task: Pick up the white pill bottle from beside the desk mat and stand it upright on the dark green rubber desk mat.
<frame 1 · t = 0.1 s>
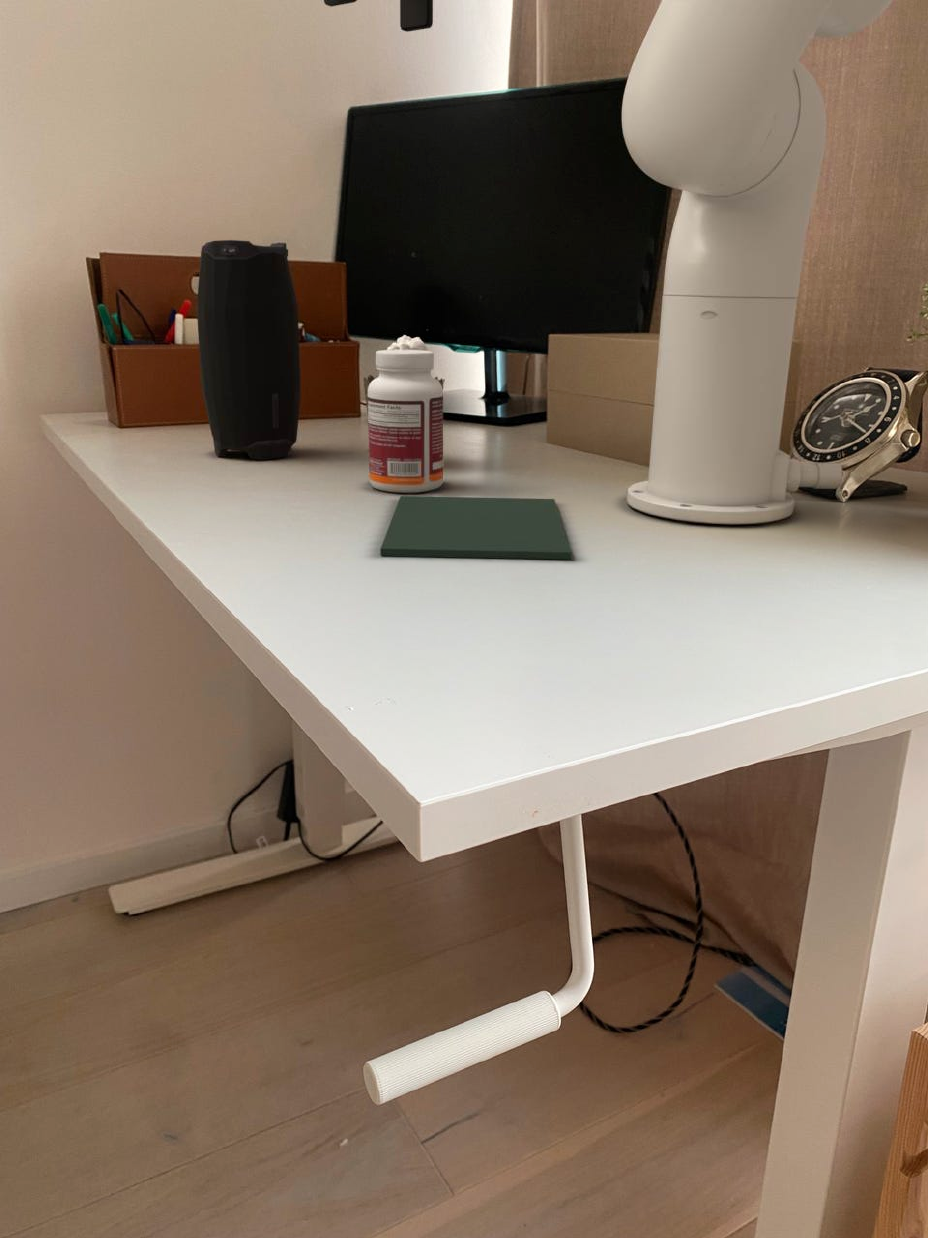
hand: (380, 16, 82), 37 cm above the table, tool pointing down, fingers open, 9 cm apart
desk mat: (476, 527, 69), on the table
portable speaker: (255, 455, 97), on the table
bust: (397, 423, 120), on the table
pill bottle: (406, 489, 83), on the table
cup: (404, 465, 93), on the table
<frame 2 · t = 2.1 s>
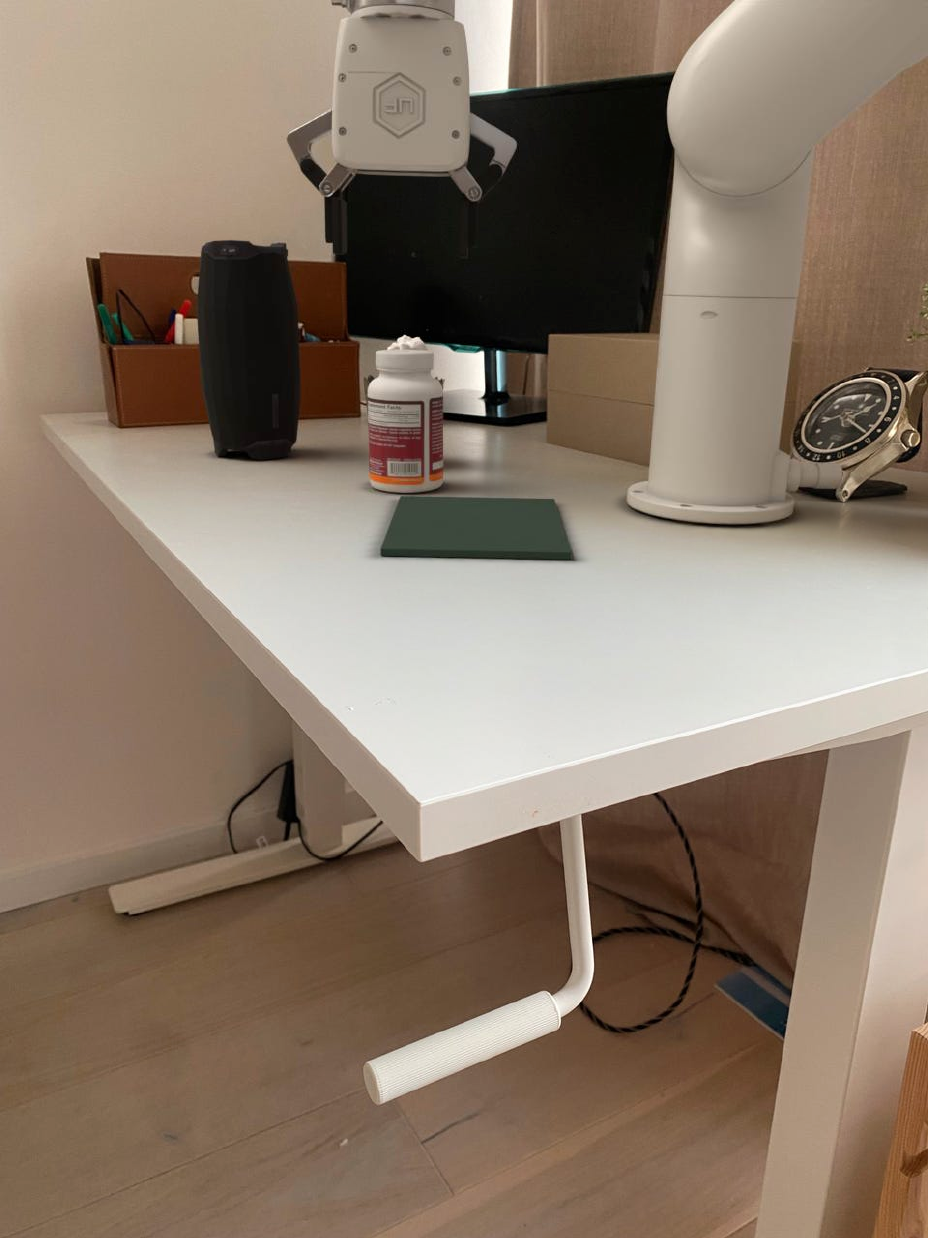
hand: (401, 255, 77), 18 cm above the table, tool pointing down, fingers open, 9 cm apart
nothing on the table moved.
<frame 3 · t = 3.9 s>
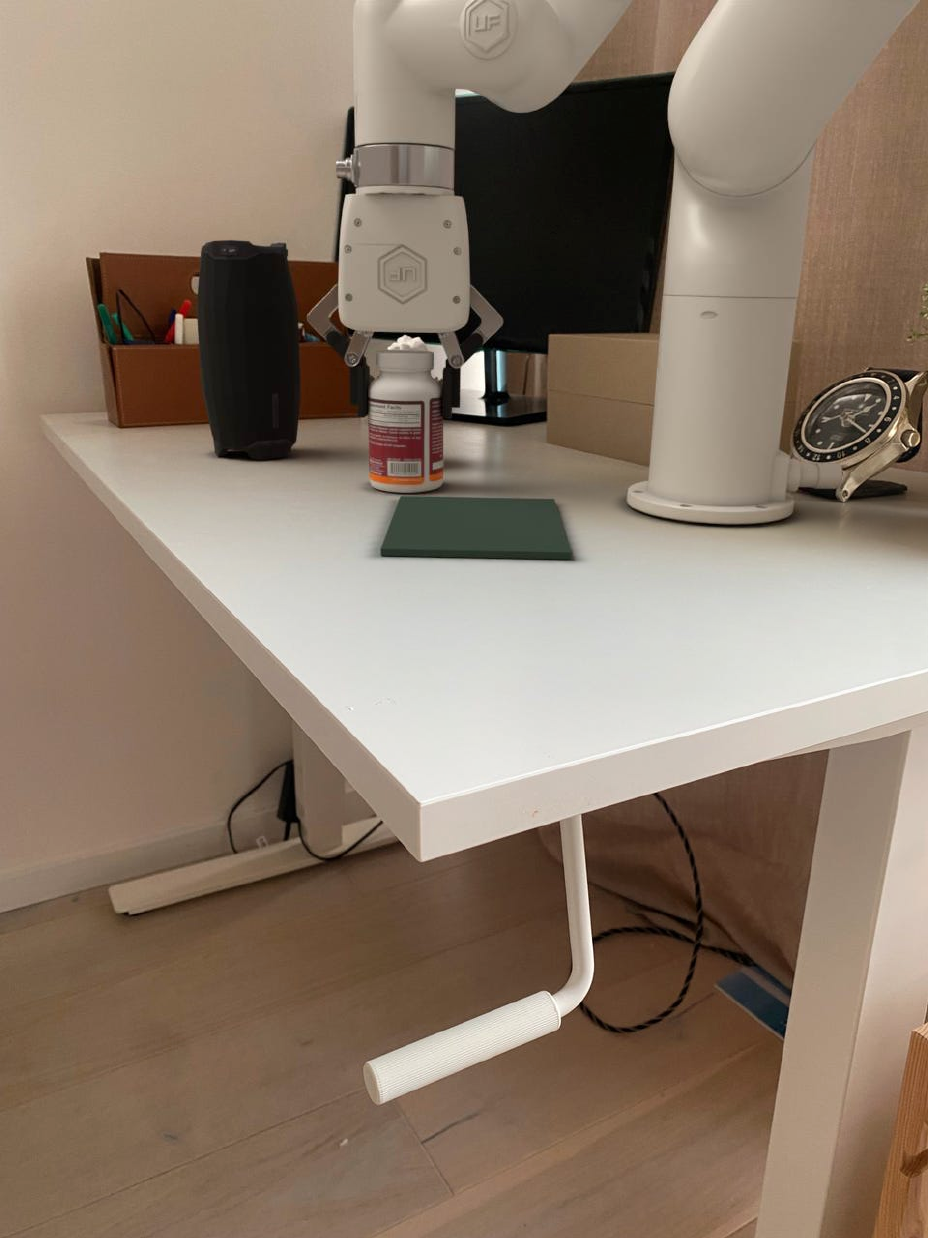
hand: (405, 414, 81), 6 cm above the table, tool pointing down, fingers closed on pill bottle, 6 cm apart
pill bottle: (406, 489, 83), on the table, touching gripper
everything else where it was.
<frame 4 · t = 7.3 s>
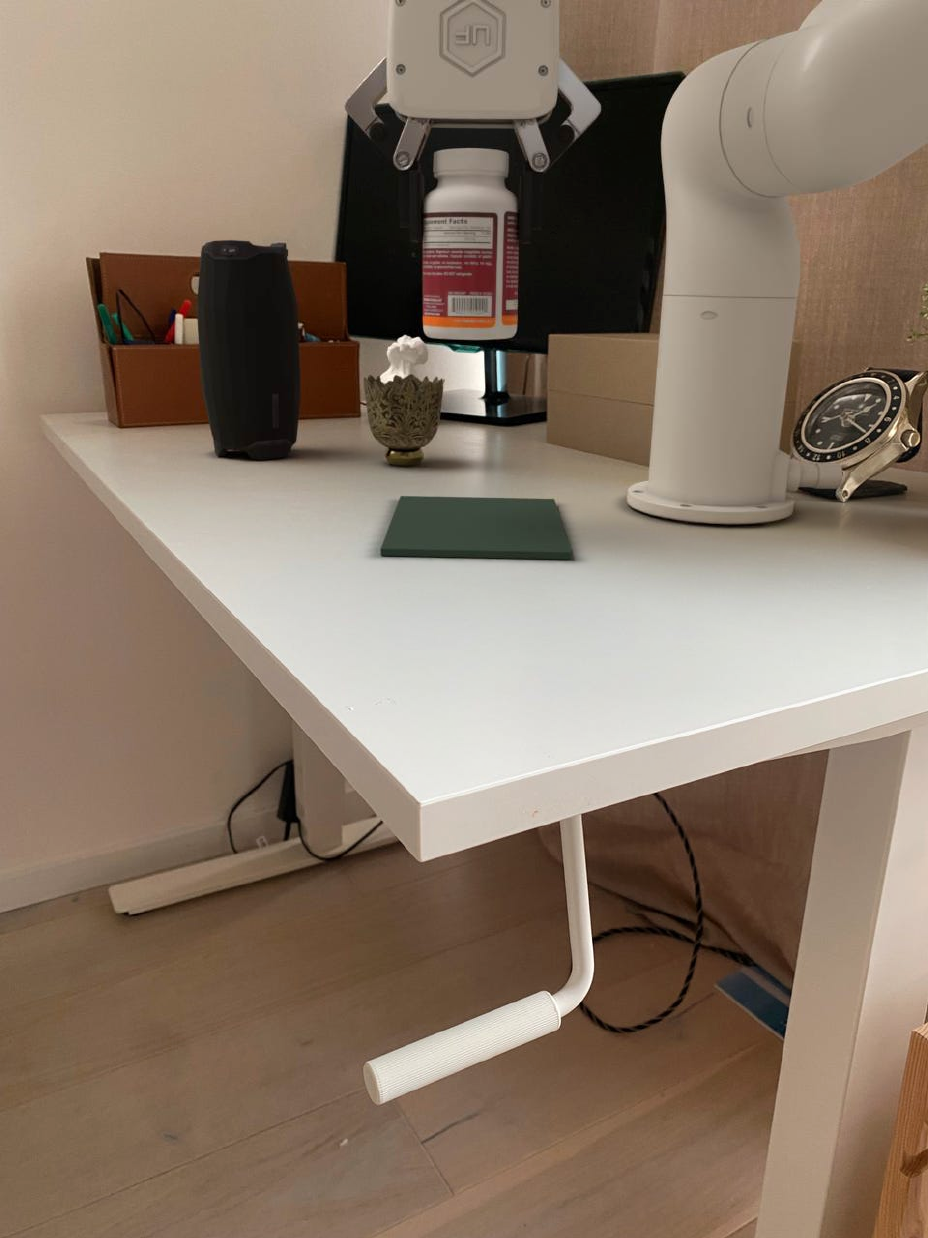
hand: (470, 239, 62), 19 cm above the table, tool pointing down, fingers closed on pill bottle, 6 cm apart
pill bottle: (469, 340, 64), point 13 cm above the table, touching gripper
everything else where it was.
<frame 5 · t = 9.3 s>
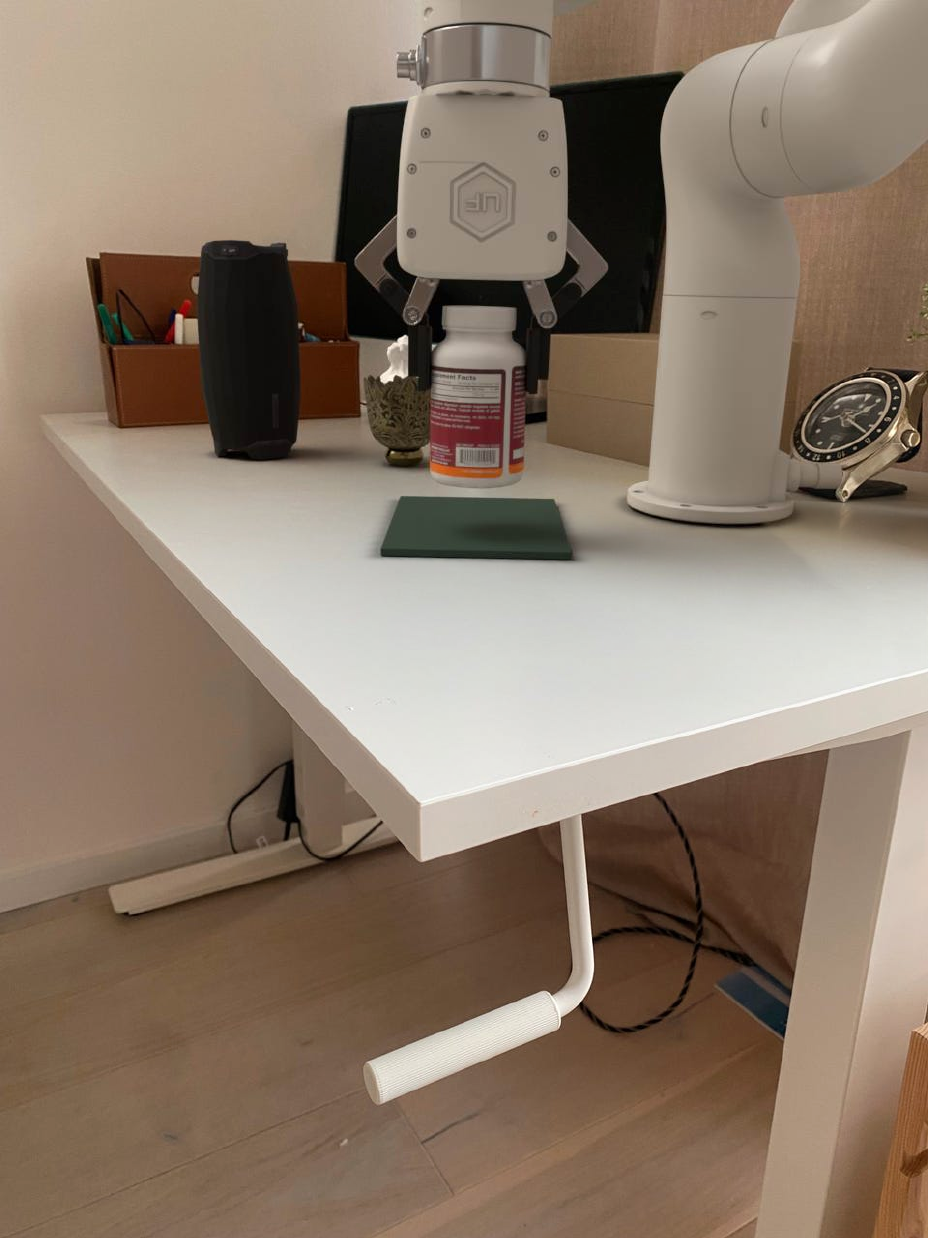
hand: (478, 387, 63), 10 cm above the table, tool pointing down, fingers closed on pill bottle, 6 cm apart
pill bottle: (475, 484, 65), point 4 cm above the table, touching gripper
everything else where it was.
when the fingers open (7 cm above the table, at t = 10.8 s): pill bottle stays where it is, resting on desk mat.
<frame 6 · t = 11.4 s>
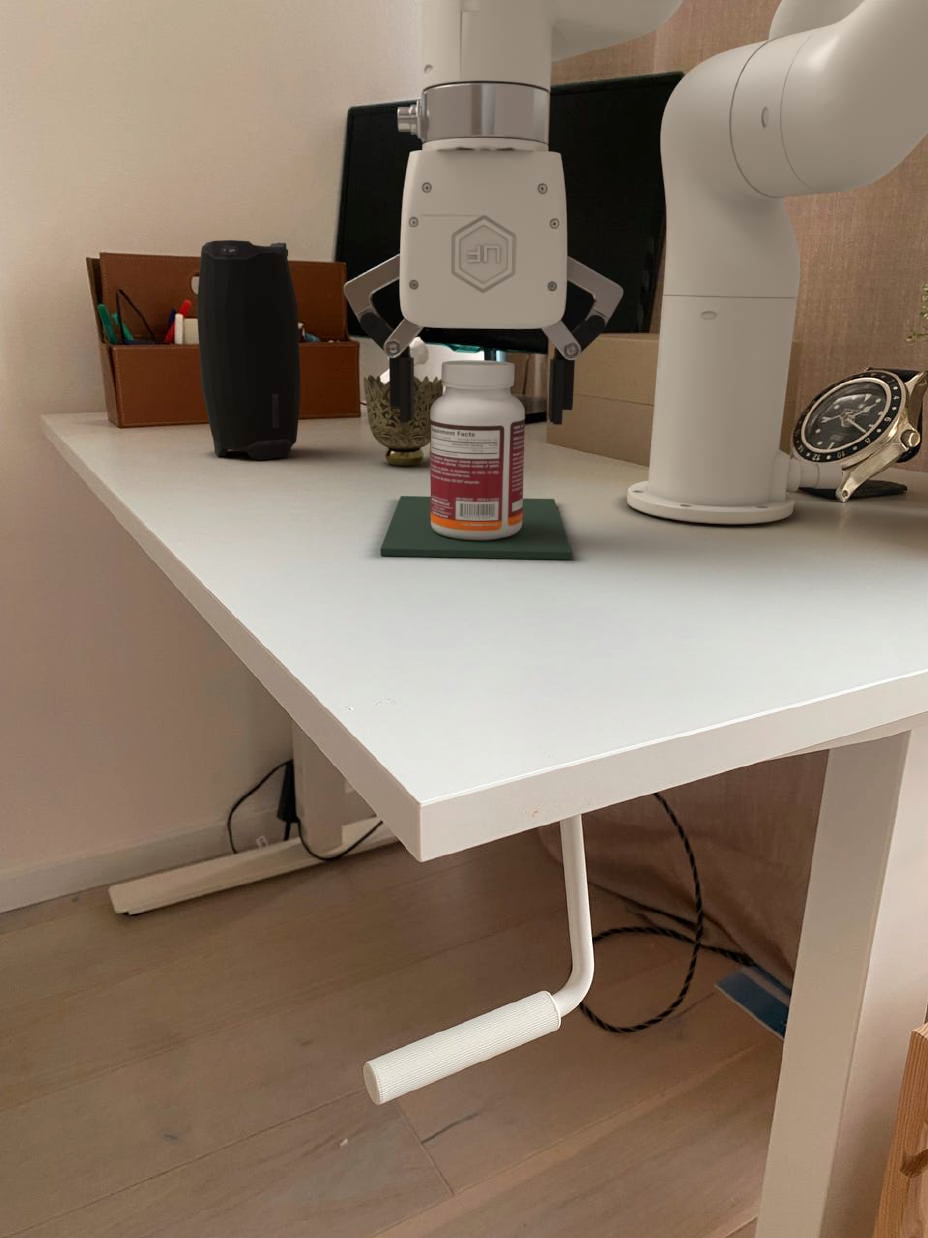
hand: (480, 420, 64), 8 cm above the table, tool pointing down, fingers open, 9 cm apart
pill bottle: (475, 534, 66), resting on desk mat
everything else where it was.
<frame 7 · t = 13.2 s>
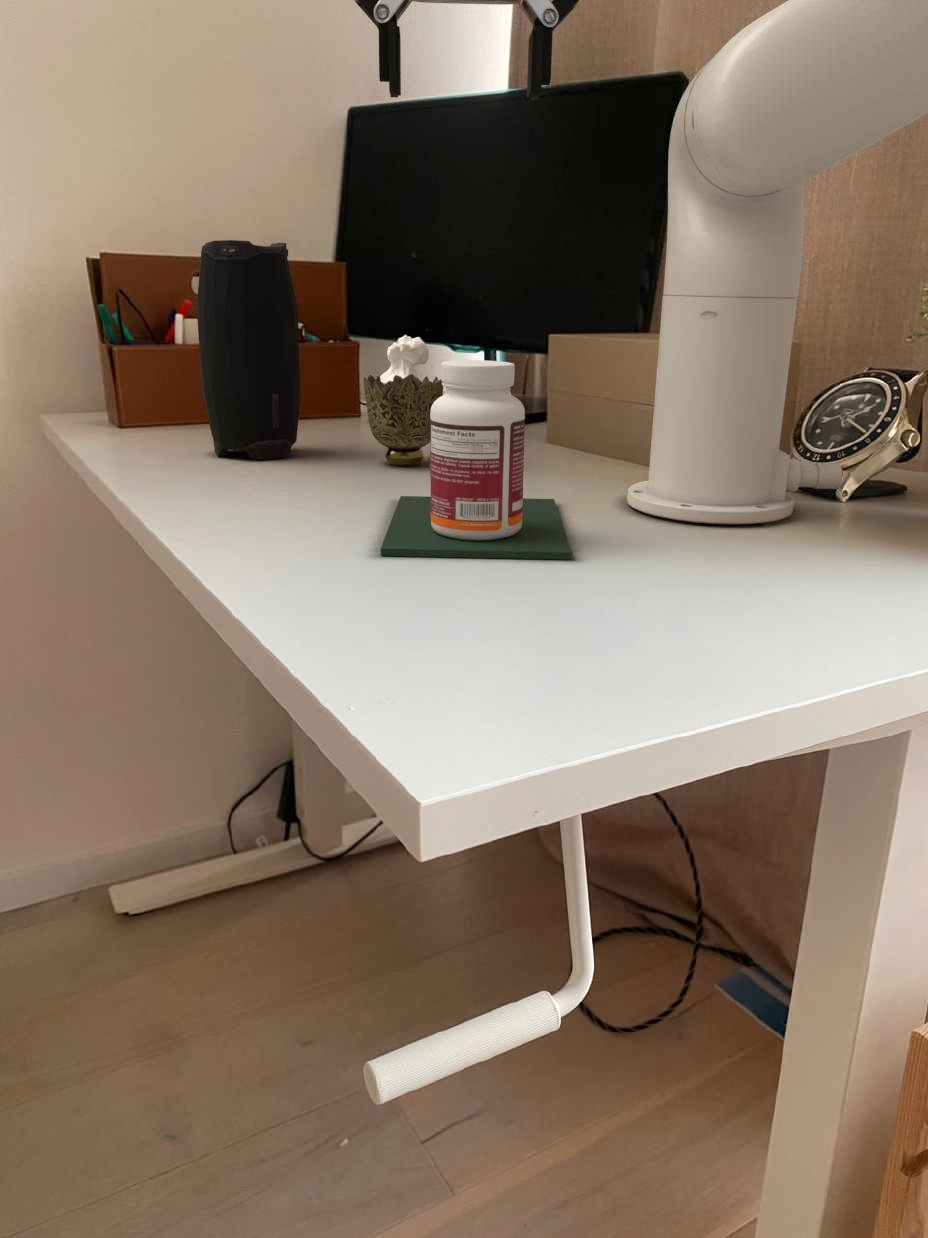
hand: (464, 95, 68), 29 cm above the table, tool pointing down, fingers open, 9 cm apart
nothing on the table moved.
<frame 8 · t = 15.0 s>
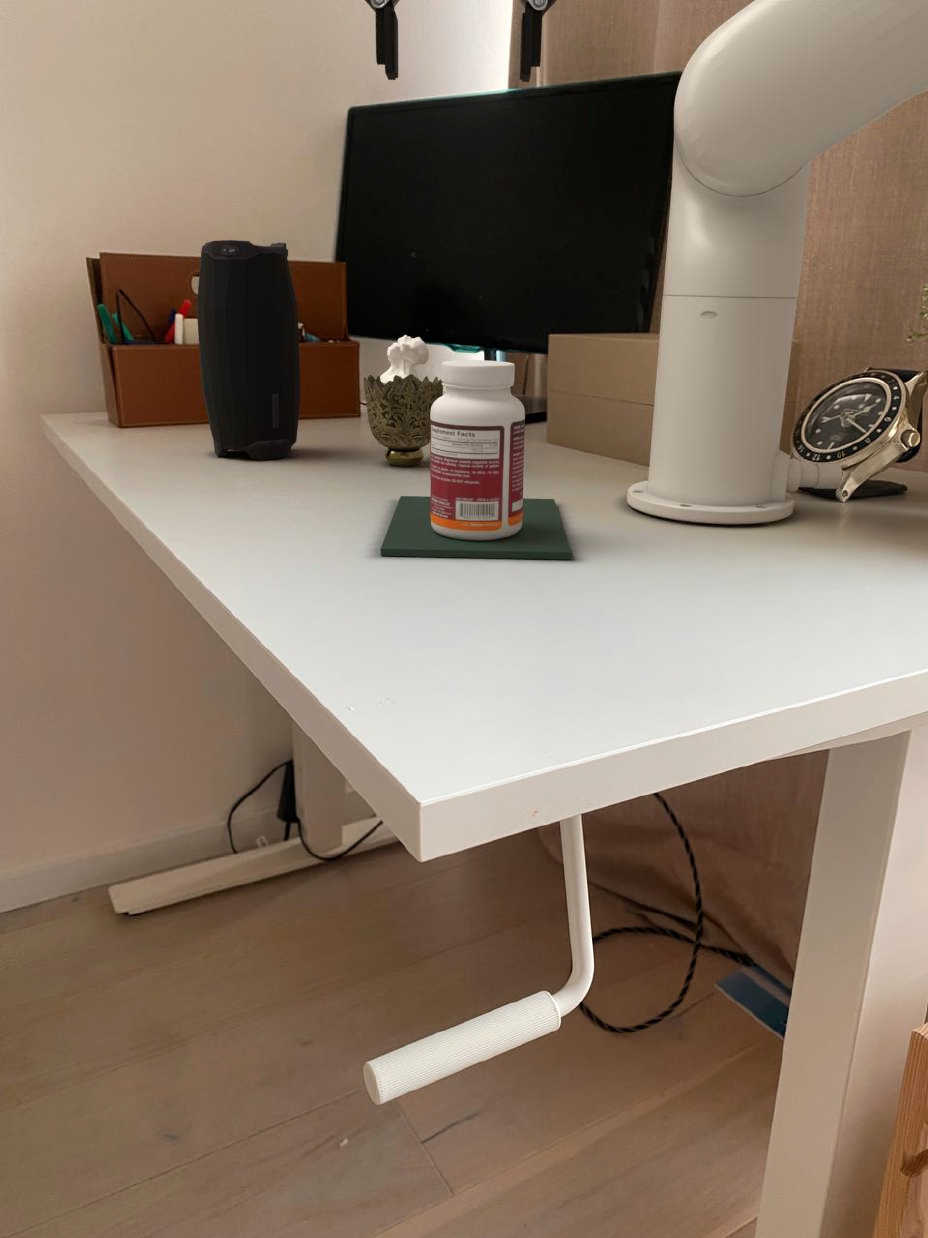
hand: (458, 77, 71), 30 cm above the table, tool pointing down, fingers open, 9 cm apart
nothing on the table moved.
at the end: pill bottle inside the target area on the desk mat (0.6 cm from its centre), point 0.3 cm above the desk mat's base; pill bottle tilted 0°; the gripper is holding nothing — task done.
